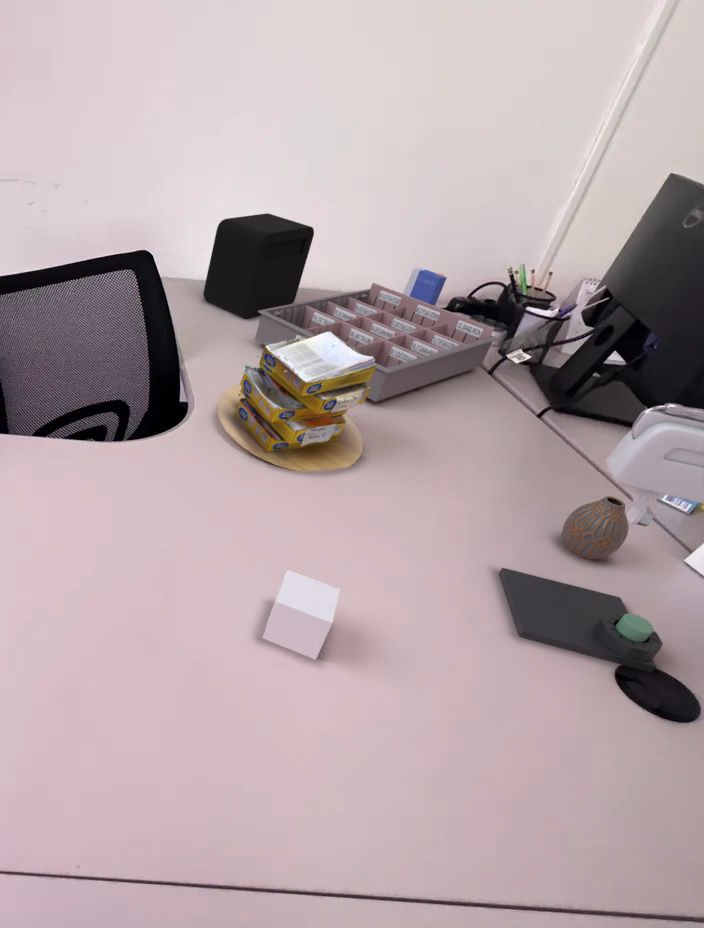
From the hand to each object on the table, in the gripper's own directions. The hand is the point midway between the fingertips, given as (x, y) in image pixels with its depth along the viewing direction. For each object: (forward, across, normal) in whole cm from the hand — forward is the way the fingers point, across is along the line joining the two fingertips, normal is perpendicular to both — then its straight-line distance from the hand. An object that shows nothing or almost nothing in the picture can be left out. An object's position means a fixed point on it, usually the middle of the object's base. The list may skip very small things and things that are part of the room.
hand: (683, 533), depth 73 cm
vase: (+16, +2, +18) cm, 24 cm away
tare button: (+13, +1, -2) cm, 13 cm away
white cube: (+16, -36, -16) cm, 43 cm away
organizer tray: (+16, -26, +74) cm, 80 cm away
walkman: (+16, -13, +110) cm, 112 cm away
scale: (+16, -4, +1) cm, 16 cm away
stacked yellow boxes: (+16, -40, +32) cm, 54 cm away
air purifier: (+16, -54, +95) cm, 110 cm away
